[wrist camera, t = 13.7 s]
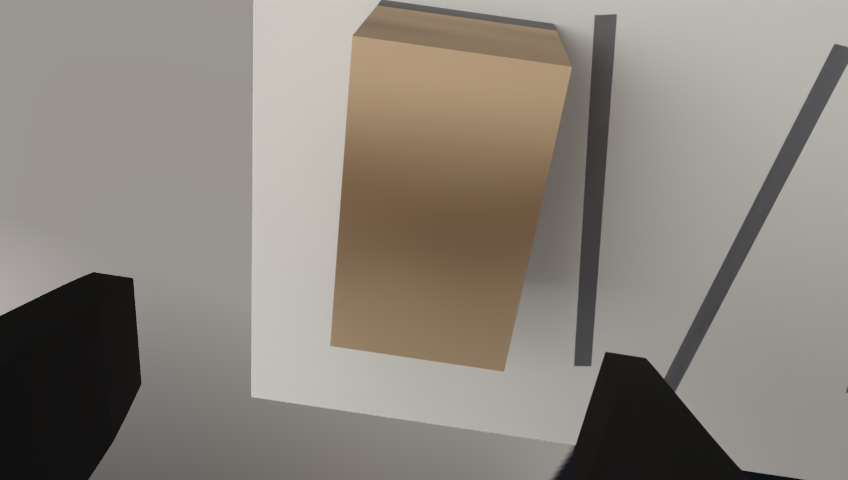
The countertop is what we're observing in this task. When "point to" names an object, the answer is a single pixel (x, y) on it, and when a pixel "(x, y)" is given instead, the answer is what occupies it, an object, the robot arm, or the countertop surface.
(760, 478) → the countertop surface
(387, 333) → the cork block
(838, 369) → the board
